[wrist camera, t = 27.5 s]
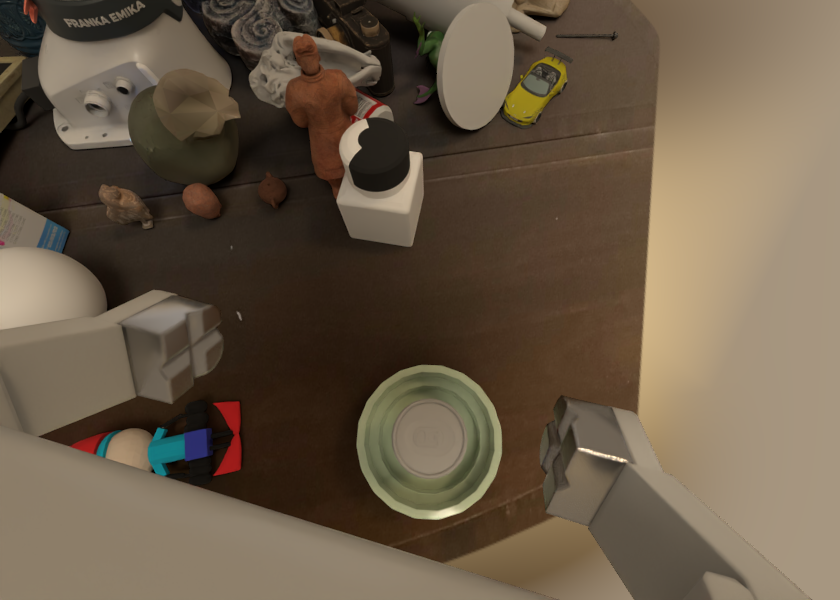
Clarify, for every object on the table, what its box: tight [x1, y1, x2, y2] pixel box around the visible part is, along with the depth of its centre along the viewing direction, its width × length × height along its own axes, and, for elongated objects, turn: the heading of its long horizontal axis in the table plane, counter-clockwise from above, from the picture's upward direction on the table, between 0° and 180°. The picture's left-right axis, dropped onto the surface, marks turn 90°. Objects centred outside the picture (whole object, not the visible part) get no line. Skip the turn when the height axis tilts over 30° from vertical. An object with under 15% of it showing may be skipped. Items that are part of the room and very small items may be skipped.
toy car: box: [501, 47, 573, 129], centre depth 47 cm, size 5×10×3 cm, turn 143°
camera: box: [312, 0, 394, 96], centre depth 48 cm, size 16×7×8 cm, turn 35°
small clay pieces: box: [99, 34, 358, 229], centre depth 36 cm, size 28×6×18 cm, turn 106°
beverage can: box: [391, 398, 468, 479], centre depth 29 cm, size 5×5×12 cm
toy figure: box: [70, 400, 242, 486], centre depth 34 cm, size 8×5×15 cm
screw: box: [556, 31, 618, 40], centre depth 52 cm, size 8×1×1 cm
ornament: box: [0, 247, 107, 330], centre depth 34 cm, size 10×10×12 cm
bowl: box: [356, 365, 502, 520], centre depth 32 cm, size 11×11×6 cm
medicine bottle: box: [336, 117, 424, 247], centre depth 38 cm, size 7×7×12 cm
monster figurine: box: [413, 3, 514, 130], centre depth 45 cm, size 12×12×10 cm
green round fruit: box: [128, 69, 241, 186], centre depth 41 cm, size 10×12×10 cm
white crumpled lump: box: [249, 31, 382, 108], centre depth 39 cm, size 8×9×12 cm
